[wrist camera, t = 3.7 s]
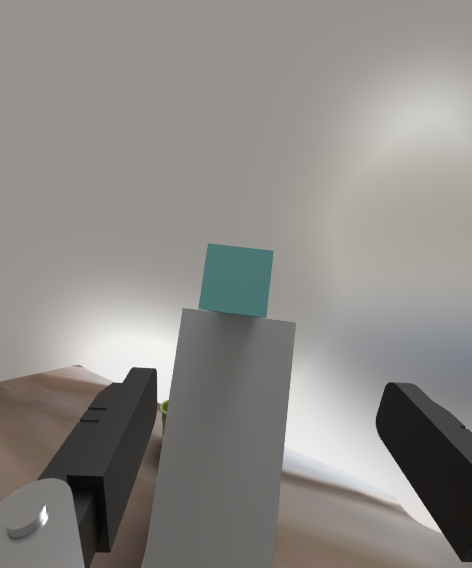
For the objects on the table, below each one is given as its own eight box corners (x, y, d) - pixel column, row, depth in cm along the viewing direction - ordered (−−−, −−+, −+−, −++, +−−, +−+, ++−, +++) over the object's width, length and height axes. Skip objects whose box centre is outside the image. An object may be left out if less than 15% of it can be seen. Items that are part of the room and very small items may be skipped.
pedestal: (275, 692, 22) (308, 324, 26) (110, 693, 21) (171, 306, 25) (245, 523, 40) (268, 319, 44) (155, 518, 39) (187, 309, 43)
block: (266, 317, 15) (273, 250, 15) (198, 308, 15) (207, 243, 15) (252, 317, 42) (255, 294, 43) (228, 314, 43) (231, 291, 43)
